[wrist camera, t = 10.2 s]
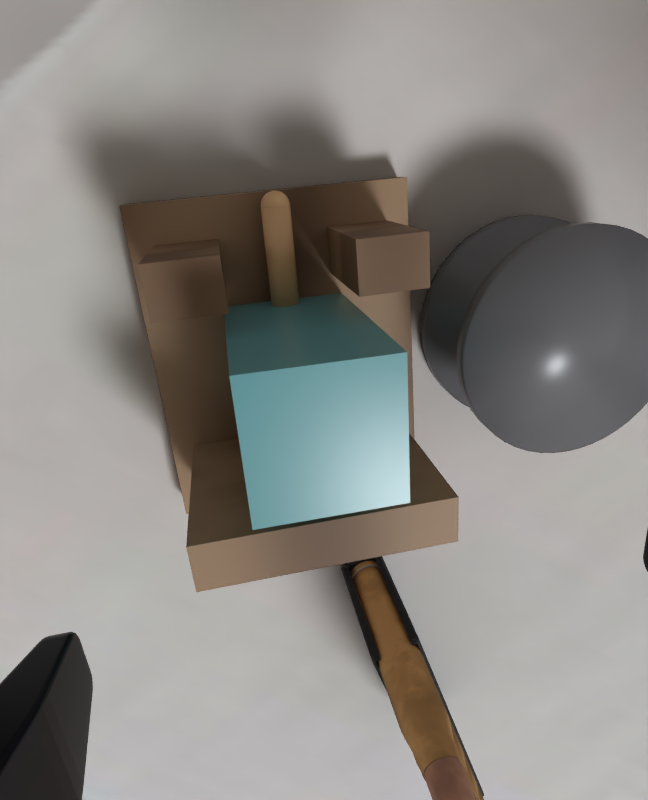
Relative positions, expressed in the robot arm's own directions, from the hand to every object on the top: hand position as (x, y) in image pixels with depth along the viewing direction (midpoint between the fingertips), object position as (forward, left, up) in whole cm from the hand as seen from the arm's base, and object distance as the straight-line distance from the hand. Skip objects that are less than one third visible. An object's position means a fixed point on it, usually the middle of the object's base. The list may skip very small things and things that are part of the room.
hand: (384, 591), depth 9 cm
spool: (-9, 0, -13) cm, 16 cm away
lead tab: (0, -2, -12) cm, 12 cm away
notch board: (0, 0, -13) cm, 13 cm away
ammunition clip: (-4, +15, -13) cm, 20 cm away
